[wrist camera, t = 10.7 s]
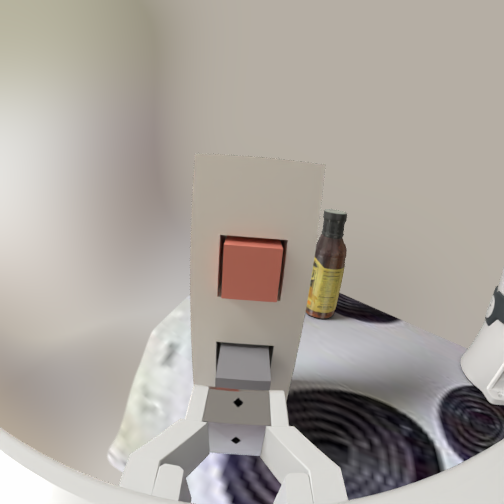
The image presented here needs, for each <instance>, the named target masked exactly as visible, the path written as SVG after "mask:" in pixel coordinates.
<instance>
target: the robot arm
mask: <svg viewBox="0 0 504 504" xmlns="http://www.w3.org/2000/svg"><path fill="white" fill-rule="evenodd" d="M485 319H486V320H485V322H484V324H483V326H482V328H481V330H480V332H479V333H478V335H477V337H476V338H475V340H474V341H473V343H472V344H471V346H470V347H469V348H468V350H467V351H466V352H465V353H464V354H463V355H462V357H461V367H462V370H463V372H464V374H465V375H466V377H467V378H468V379H469V380H470V381H471V382H472V383H473V384H474V385H475V386H476V387H477V388H479V389H480V390H481V391H482V392H483V394H484V395H485V397H486V398H487V400H488V401H489V402H490V403H492V404H495V405H504V268H503V271H502V275H501V279H500V282H499V285H498V286H497V287H496V288H495V291H494V294H493V296H492V298H491V301H490V304H489V307H488V309H487V313H486V317H485ZM209 452H211V453H225V454H240V455H256V456H260V457H261V458H262V460H263V461H264V462H265V464H266V465H267V466H268V468H269V469H270V470H271V472H272V473H273V474H274V476H275V477H276V478H277V479H278V481H279V482H280V483H281V484H282V486H281V488H280V490H279V492H278V494H277V496H276V499H275V501H274V503H273V504H504V439H503V440H501V441H500V442H498V443H497V444H495V445H493V446H492V447H490V448H488V449H486V450H485V451H483V452H481V453H479V454H478V455H476V456H474V457H472V458H470V459H468V460H466V461H464V462H462V463H460V464H458V465H456V466H454V467H452V468H450V469H447V470H445V471H443V472H440V473H438V474H436V475H433V476H431V477H428V478H426V479H423V480H420V481H417V482H415V483H412V484H409V485H406V486H403V487H400V488H396V489H393V490H390V491H386V492H382V493H379V494H375V495H371V496H366V497H362V498H357V499H352V500H348V498H347V494H346V490H345V486H344V482H343V478H342V473H341V469H340V467H339V466H337V465H336V464H335V463H334V462H333V461H331V460H330V459H329V458H328V457H327V456H326V455H325V454H323V453H322V452H321V451H320V450H319V449H318V448H317V447H316V446H315V445H313V444H312V443H311V442H310V441H309V440H308V439H307V438H306V437H305V436H304V435H303V434H302V433H300V432H299V431H298V430H297V429H296V428H295V427H294V426H289V420H288V412H287V405H286V398H285V392H284V391H282V390H269V391H268V390H244V389H229V388H220V387H212V386H210V387H209V386H202V385H194V386H193V389H192V393H191V397H190V401H189V405H188V409H187V413H186V417H185V419H179V420H178V421H177V422H175V423H174V424H173V425H171V426H170V427H168V428H167V429H166V430H164V431H163V432H161V433H160V434H159V435H157V436H156V437H154V438H153V439H152V440H150V441H149V442H147V443H146V444H144V445H143V446H141V447H140V448H138V449H137V450H135V451H134V452H132V453H131V454H130V456H129V458H128V461H127V464H126V466H125V469H124V472H123V475H122V477H121V480H120V483H119V486H117V485H114V484H111V483H108V482H105V481H103V480H100V479H97V478H94V477H92V476H89V475H87V474H84V473H82V472H80V471H77V470H75V469H73V468H71V467H68V466H66V465H64V464H62V463H60V462H58V461H56V460H54V459H52V458H50V457H48V456H46V455H44V454H43V453H41V452H39V451H37V450H35V449H34V448H32V447H30V446H28V445H27V444H25V443H23V442H22V441H20V440H19V439H17V438H16V437H14V436H12V435H11V434H9V433H8V432H6V431H5V430H3V429H2V428H1V427H0V504H194V503H191V495H190V492H189V488H188V485H187V481H186V477H187V476H188V475H189V474H190V473H191V472H192V471H193V470H194V469H195V468H196V467H197V466H198V465H199V464H200V463H201V462H202V461H203V460H204V459H205V458H206V457H207V456H208V455H209Z"/></svg>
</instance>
